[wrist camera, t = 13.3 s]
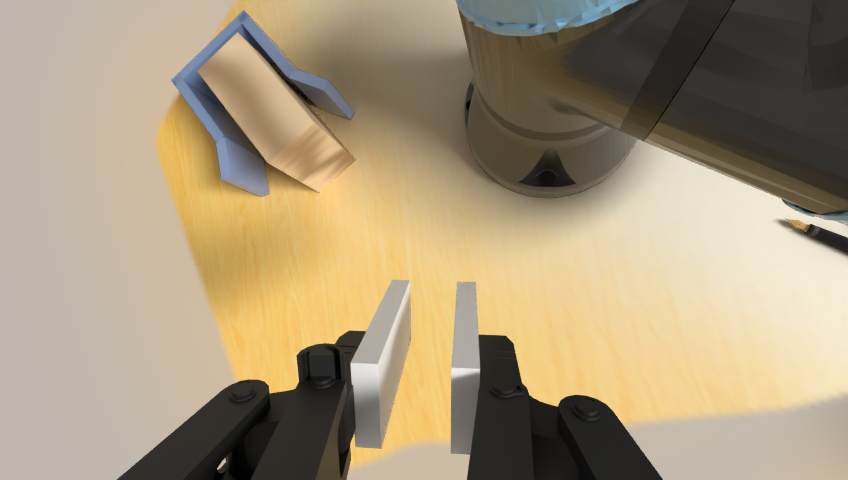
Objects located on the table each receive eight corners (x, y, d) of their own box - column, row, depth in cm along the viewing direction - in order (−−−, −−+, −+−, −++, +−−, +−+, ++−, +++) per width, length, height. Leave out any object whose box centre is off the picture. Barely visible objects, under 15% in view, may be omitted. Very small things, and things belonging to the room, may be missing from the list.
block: (292, 85, 45) (237, 31, 37) (356, 160, 42) (312, 121, 33) (258, 116, 46) (197, 71, 37) (319, 193, 42) (267, 162, 34)
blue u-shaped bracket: (289, 37, 46) (256, -2, 40) (357, 113, 43) (331, 83, 37) (203, 118, 47) (159, 91, 41) (263, 200, 43) (223, 183, 38)
